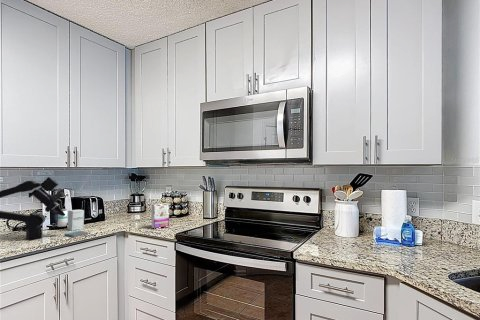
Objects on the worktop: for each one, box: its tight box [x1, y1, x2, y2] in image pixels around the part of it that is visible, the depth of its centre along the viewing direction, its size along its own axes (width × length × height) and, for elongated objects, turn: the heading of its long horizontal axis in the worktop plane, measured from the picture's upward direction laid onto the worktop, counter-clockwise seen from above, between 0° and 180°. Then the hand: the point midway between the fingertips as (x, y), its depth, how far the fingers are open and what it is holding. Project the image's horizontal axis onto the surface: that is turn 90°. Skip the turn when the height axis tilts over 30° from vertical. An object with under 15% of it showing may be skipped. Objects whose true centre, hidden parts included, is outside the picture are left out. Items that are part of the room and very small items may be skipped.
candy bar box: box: [151, 203, 170, 229], centre depth 189 cm, size 11×5×16 cm, turn 129°
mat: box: [64, 230, 89, 238], centre depth 167 cm, size 9×9×1 cm
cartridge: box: [57, 208, 68, 228], centre depth 164 cm, size 5×5×10 cm
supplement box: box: [67, 209, 85, 232], centre depth 184 cm, size 7×7×13 cm
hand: (65, 214), depth 165 cm, fingers closed on cartridge, 5 cm apart
